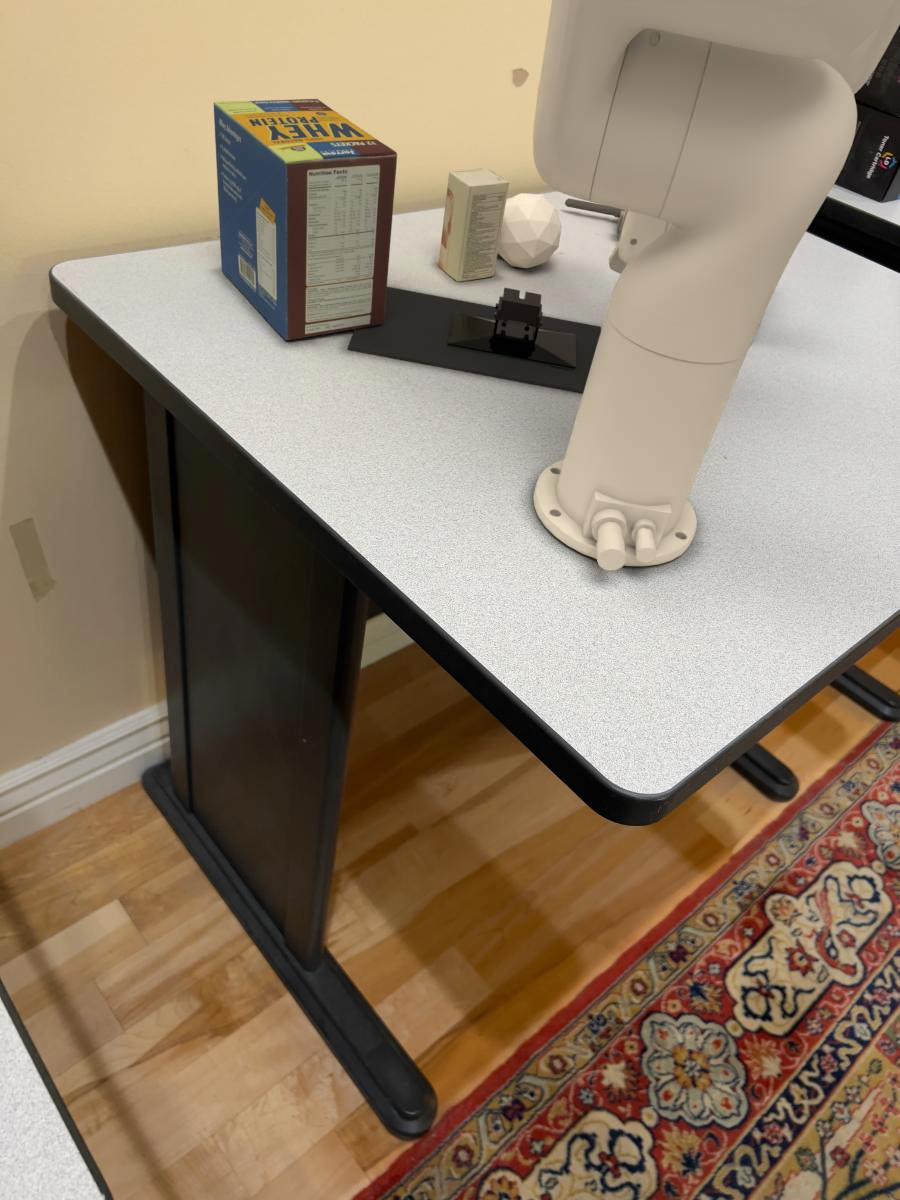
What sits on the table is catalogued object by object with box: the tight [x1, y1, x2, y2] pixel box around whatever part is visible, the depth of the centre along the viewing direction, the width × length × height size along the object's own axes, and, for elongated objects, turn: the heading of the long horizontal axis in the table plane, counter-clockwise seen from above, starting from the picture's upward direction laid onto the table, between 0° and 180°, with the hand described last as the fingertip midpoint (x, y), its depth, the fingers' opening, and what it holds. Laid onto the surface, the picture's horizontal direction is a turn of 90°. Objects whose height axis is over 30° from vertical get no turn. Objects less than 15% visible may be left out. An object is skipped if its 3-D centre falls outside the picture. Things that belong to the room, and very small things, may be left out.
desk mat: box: [347, 286, 602, 394], centre depth 86 cm, size 14×24×1 cm, turn 85°
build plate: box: [447, 287, 576, 370], centre depth 85 cm, size 12×7×5 cm, turn 84°
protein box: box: [213, 98, 398, 341], centre depth 81 cm, size 10×15×16 cm
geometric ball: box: [497, 192, 562, 269], centre depth 99 cm, size 8×8×8 cm
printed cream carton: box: [437, 167, 510, 282], centre depth 94 cm, size 5×4×10 cm
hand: (645, 337), depth 85 cm, fingers closed
